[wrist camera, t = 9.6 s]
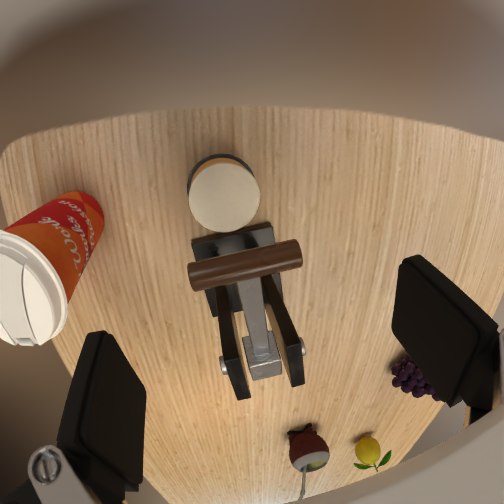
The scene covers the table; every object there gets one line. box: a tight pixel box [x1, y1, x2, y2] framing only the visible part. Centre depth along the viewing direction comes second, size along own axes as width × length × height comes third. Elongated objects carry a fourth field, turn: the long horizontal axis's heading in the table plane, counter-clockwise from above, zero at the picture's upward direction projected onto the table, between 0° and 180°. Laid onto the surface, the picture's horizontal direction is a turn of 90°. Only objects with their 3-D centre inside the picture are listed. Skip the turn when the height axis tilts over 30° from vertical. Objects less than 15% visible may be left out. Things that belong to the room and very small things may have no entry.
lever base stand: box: [191, 222, 306, 400], centre depth 26 cm, size 9×8×15 cm
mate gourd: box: [287, 423, 330, 500], centre depth 43 cm, size 8×8×15 cm
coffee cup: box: [0, 191, 104, 346], centre depth 21 cm, size 8×8×15 cm
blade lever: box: [187, 239, 303, 381], centre depth 18 cm, size 12×5×2 cm, turn 10°
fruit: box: [391, 356, 440, 401], centre depth 42 cm, size 10×11×15 cm
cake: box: [187, 154, 260, 232], centre depth 27 cm, size 6×6×4 cm
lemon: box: [353, 437, 391, 472], centre depth 52 cm, size 7×6×10 cm
